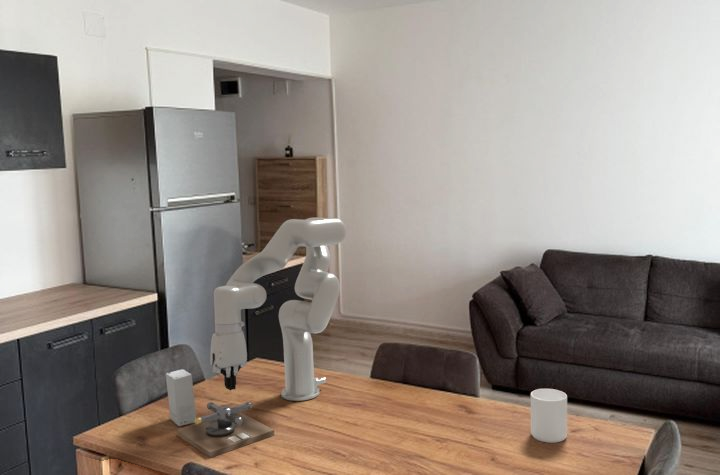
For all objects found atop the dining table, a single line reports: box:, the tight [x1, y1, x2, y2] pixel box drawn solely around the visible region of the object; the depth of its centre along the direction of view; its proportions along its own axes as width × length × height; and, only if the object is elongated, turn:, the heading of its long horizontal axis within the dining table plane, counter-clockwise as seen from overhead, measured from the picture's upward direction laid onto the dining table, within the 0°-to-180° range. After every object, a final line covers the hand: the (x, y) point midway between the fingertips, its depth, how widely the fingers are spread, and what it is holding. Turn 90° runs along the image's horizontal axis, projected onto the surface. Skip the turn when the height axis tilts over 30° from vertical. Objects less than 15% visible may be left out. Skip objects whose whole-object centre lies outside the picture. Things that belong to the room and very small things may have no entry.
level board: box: [176, 411, 275, 458], centre depth 189 cm, size 20×20×2 cm
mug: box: [530, 388, 568, 444], centre depth 181 cm, size 10×12×12 cm
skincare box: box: [165, 369, 197, 427], centre depth 200 cm, size 8×6×15 cm
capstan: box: [193, 401, 253, 437], centre depth 188 cm, size 18×18×6 cm
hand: (230, 388), depth 197 cm, fingers closed
